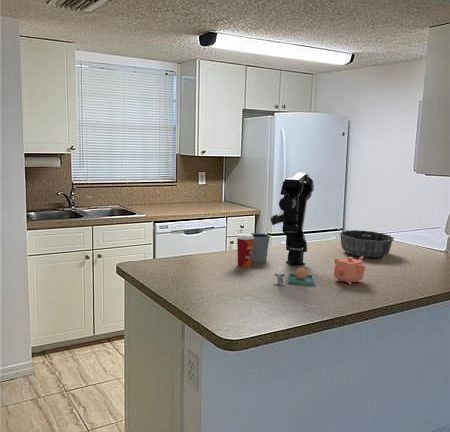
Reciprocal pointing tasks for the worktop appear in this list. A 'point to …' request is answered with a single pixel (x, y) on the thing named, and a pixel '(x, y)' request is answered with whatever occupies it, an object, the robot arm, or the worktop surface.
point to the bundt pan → (366, 243)
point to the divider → (279, 276)
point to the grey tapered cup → (259, 247)
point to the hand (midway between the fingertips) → (289, 244)
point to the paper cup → (244, 249)
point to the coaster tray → (294, 280)
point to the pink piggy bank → (349, 269)
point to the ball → (301, 273)
